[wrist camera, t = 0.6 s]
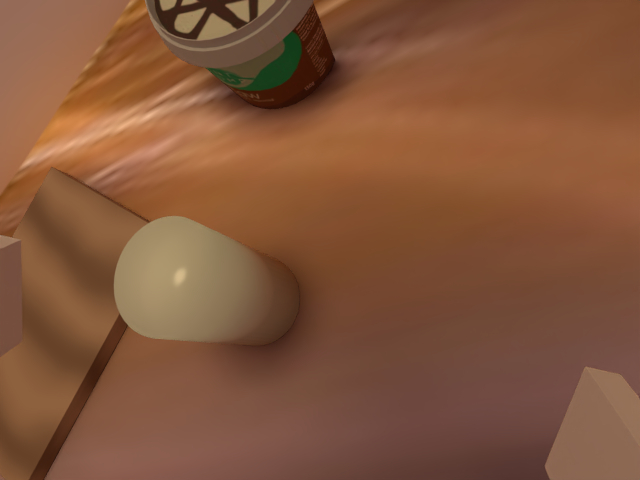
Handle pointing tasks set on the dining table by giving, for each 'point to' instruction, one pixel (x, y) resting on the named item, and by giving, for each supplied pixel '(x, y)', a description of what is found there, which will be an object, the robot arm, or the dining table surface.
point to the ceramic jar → (202, 286)
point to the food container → (249, 45)
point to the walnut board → (60, 319)
